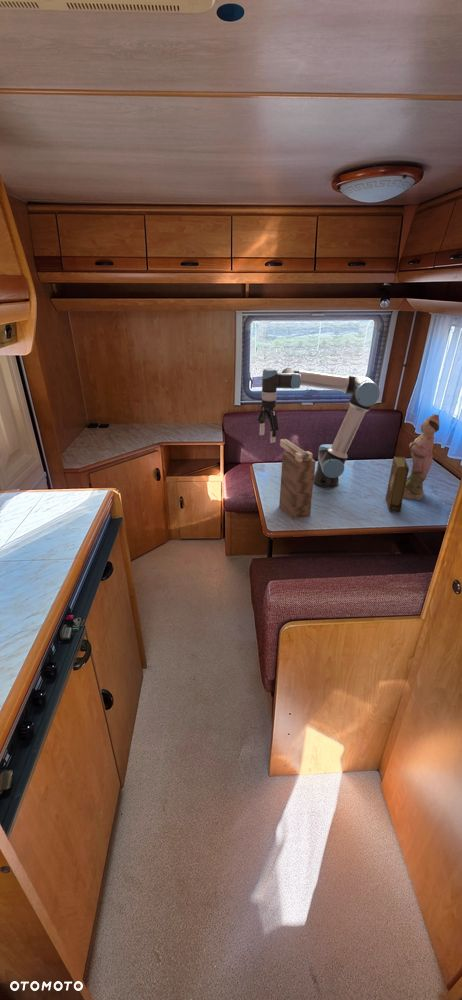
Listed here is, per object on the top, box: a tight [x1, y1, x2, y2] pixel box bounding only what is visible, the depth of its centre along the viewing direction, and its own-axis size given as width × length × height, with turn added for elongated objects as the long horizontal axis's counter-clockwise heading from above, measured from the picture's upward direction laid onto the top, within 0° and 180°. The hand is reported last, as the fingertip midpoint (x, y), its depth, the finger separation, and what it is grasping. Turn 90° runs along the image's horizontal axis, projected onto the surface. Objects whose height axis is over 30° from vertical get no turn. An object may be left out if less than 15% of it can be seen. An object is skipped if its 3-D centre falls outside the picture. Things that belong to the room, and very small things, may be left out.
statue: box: [403, 414, 441, 500], centre depth 233 cm, size 16×17×45 cm
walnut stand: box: [278, 451, 317, 520], centre depth 216 cm, size 10×15×30 cm, turn 20°
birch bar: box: [279, 438, 313, 462], centre depth 213 cm, size 7×24×3 cm, turn 20°
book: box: [385, 455, 410, 513], centre depth 224 cm, size 16×6×25 cm, turn 168°
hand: (267, 438), depth 233 cm, fingers open, 13 cm apart
